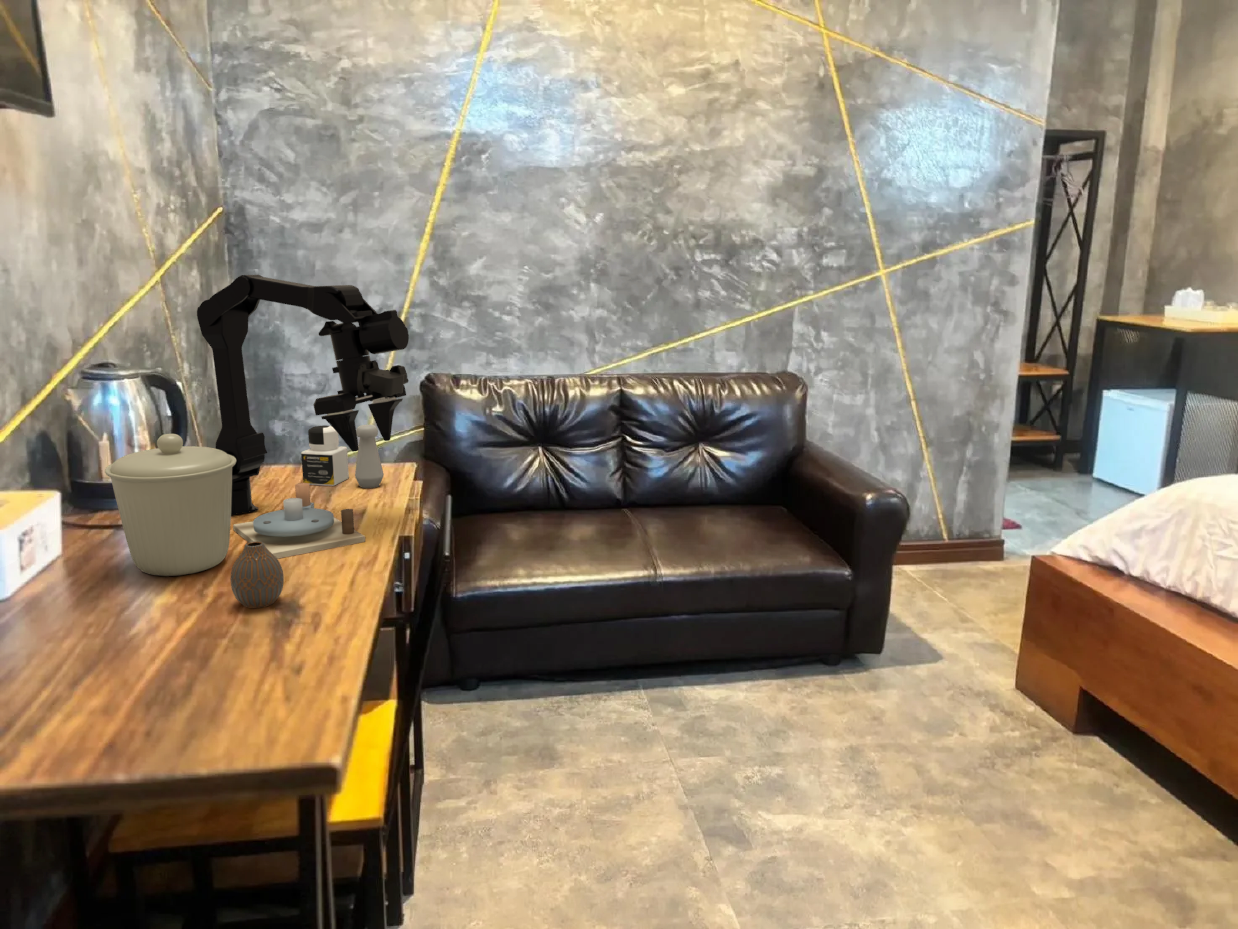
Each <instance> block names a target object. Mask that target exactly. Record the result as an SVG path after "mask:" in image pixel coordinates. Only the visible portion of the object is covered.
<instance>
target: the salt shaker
mask: <svg viewBox="0 0 1238 929" xmlns="http://www.w3.org/2000/svg"><path fill="white" fill-rule="evenodd" d="M356 433H357V438H359V439H358V440H359V441H358V451H357V456H356V457H357V458H356V464H355V473H354V478H355V479H356V481H357V483H358V485H359V487H360V488H362V489H374V488H379V487H380V484H381V482H382V480H383V478H384V475H385V473H384V470H383V466H382V462H381V458H380V454H379V450H378V447H377V441H376V437H377V436H378V435H379V429H378V427H377V425H374V424H361V425H359V426H357V427H356Z"/></svg>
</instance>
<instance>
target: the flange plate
mask: <svg viewBox="0 0 1238 929" xmlns="http://www.w3.org/2000/svg"><path fill="white" fill-rule="evenodd" d="M294 488H295V497H289V498H286V499H284V500H283V501H282V502H283V503H282V504H283V509H279V510H273V511H270V512H266V513H263V514H261V515H258V516H257V517H255V518H254V520H253V526H254V531H255V532H257V533H259V534H262V535H267V536H279V537H286V536H299V535H306V534H312V533H316V532H320V531H323V530H325V529H328V528H329V527H331V526H332V525H333V524H334V517H335V516H334V513H333V512H332V511H329V510H327V509H324V508H323V509H322V508H317V507H315V503H314V502H312V501H311V492H310V491H311V490H310V485H309V483H303V482H298V483H296V484H294Z"/></svg>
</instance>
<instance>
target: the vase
mask: <svg viewBox="0 0 1238 929" xmlns="http://www.w3.org/2000/svg"><path fill="white" fill-rule="evenodd" d="M278 559H279V558H278ZM278 559H277V558H276V557H275V556H274V555H273V554H272V553H271V552H270V551H269V550H268V549H267V548H266V546H265V545H264V543H263V542H260V541H253V542H247V543H245V545H244V547H243V549H242V552H240V554H239V556H238V557H237V558H236V560H235V561H234V564H233V565H232V568H231V572H230V586H231V591H232V593H233V595H234V597H235V599H236V601H238V603H240V604H241V605H242V606H244V607H246V608H249V609H258V608H259V609H260V608H265V607H268V606H271V605H273V604H274V603H275V602H276V601H277V600H278V598H279V597H280V596H281V594H282V591H283V588H284V584H285V582H284V579H285V577H284V576H285V575H284V571H283V567H282V564H281V562H280V561H279V560H278Z"/></svg>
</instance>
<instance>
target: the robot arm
mask: <svg viewBox="0 0 1238 929" xmlns="http://www.w3.org/2000/svg"><path fill="white" fill-rule="evenodd" d="M260 301H267V302H272V303H278V304H283V305H287V306H294V307H299V308H303V309H305V310H308V311H309V312H311V313H312V314H314V315H315V316H318V317H319V318H323V319H326V320H328V321H325V322H324V324H323V327H322V328H320V330H319V332H318V336H319V337H326V336H330V340H331V345H332V349H333V353H334V359H335V363H336V366H335V367H332V368H331V369H332V374H338V376H339V381H340V385H341V390H337V392H336V393H337V394H332V395H327V396H323V397H318V398H317V397H316V398H315V401H314V402H313V405H312V406H313V409H314V415H315V416H320V417H321V420H325V421H326V422H327V423H328V424H329V426H332V427H333V428H334V429H335V430H336V431H337V433H338V436H339V437H340V438H341V439H342V440H343V442H344V443H345V445H346V446H347V447H348V448H349V449H350V450H351V451H352V453H353V452H358V447H359V441H358V440H359V439H358V436H357V433H356V430H357V427H356V423H355V422H356V421H355V420H356V418H357V417H358V414H359V409H358V410H357V409H356V406H357V405H359V404H362V403H363V404H364V403H367V402H372V403H369V404H367V407H368V408H369V410H370V412H371V415H372V417H373V420H374V422H375V425H376V427H377V429H378V432H379V433H380V435H381V437H382V439H383V441H384V442H387V441H391V438H392V427H393V420H394V419H393V418H394V414H395V409H396V408H397V407H398V405H399V404H400V403H401V402H403V398H402V397H406V396H407V391H406V388H405V385H406V384H408V383H409V379H408V374H407V371H406V370H407V369H406V366H403V365H399V364H398V365H392V366H391V367H390V368H389V369H381V368H380V366H379V362H377V360H375V359H374V360H371V357H370V354H372V355H379V354H383V353H391V352H395V351H403V350H405V349H406V348H407V346H408V344H409V339H410V335H409V330H408V327H407V326H406V324H405V323H404V321H403V319H402V318H400V317H399V315H398V311H397V310H396V309H391V310H386V311H385V310H384V311H382V312H380V313H378V312H377V311H376V310H375V309H374V308H373V307H372V306H371V305H370V303H369V302H367V301H366V300H365V299H364V297H363V295H362V293H361V291H360V289H359V288H358V287H357V286H356V285H352V284H342V285H338V284H337V285H311V284H305V283H299V282H293V281H288V280H282V279H278V278H271V277H264V276H262V275H260V274H241V275H239V276H237V277H236V278H235V279H234V280H233V281H232V282H231V283H230V284H228V285H227V286H225V287H224V288H221V289H220V290H219V291H217V292H216V293H214V294H212V295H211V297H210V298H209V299H205V300H204V301H202V302H201V303H200V304H199V306H198V307H197V310H196V316H197V317H196V318H197V322H198V326H199V329H200V333H201V336H202V337H203V339H204V340H205V341H206V343H207V344H208V345H209V347H210V348H211V350H212V356H213V366H214V374H215V379H216V380H215V381H216V382H215V383H216V388H217V395H218V396H217V399H218V406H219V412H220V422H221V428H220V431H219V434H218V436H217V439H216V441H215V447H214V448H215V449H219V450H222V451H224V452H225V453H227V454H229V455H232V456H234V457H235V458H236V464H235V465H234V466H233V467H232V496H231V516H235V515H239V514H240V515H241V514H246V513H247V514H248V513H252V512H258V511H259V507H257V506H256V505H255V504H253V502H252V501H253V500H252V488H251V477H254V476H258V475H259V474H260V470H261V465H262V464H263V463H264V462H265V457H266V456H265V455H266V454H267V453H268V451H267V449H266V445H265V442H266V441H265V440H266V439H265V438H266V437H265V434H264V432H257V431H256V429H255V428H254V427H253V425H252V423H251V417H250V416H251V415H250V408H249V399H248V391H247V383H246V374H245V372H246V371H245V365H244V358H243V345H244V342H245V340H246V337H247V334H248V332H249V318H250V316H251V315H252V314H253V313H254V312H255V311H256V310H257V309H258V307H259V304H260ZM335 321H339V322H340V323H337V322H335ZM355 323H357V324H358V326H357V325H356V324H355ZM354 409H356V410H354Z"/></svg>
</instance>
